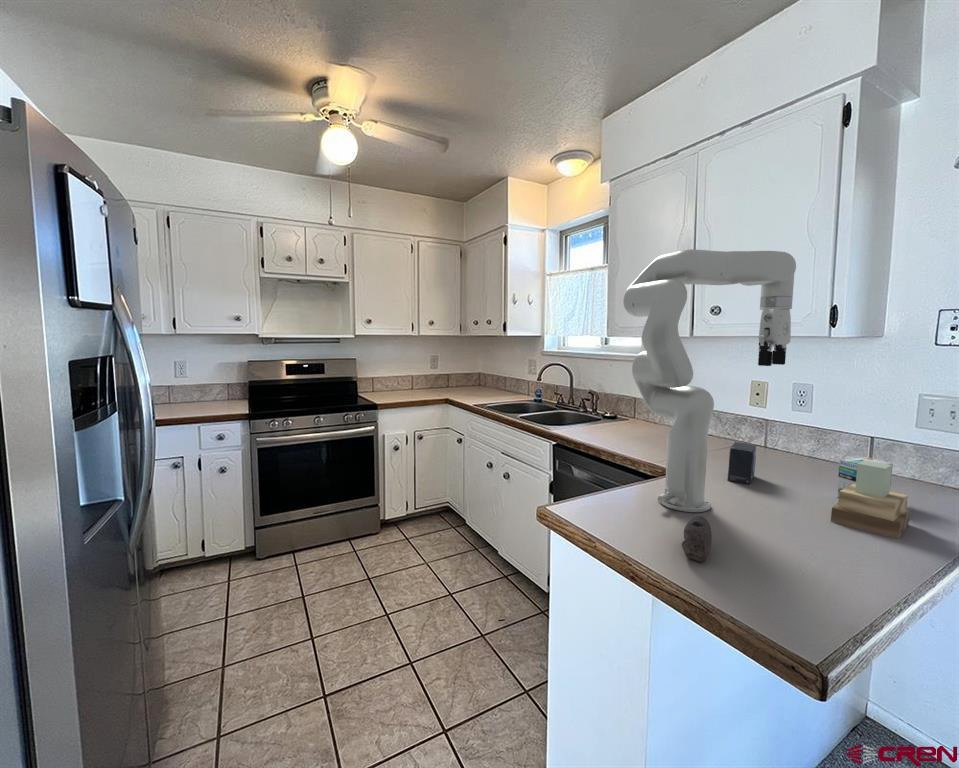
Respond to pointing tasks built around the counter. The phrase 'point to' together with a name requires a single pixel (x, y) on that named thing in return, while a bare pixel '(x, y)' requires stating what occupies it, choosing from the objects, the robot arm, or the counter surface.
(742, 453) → the small box
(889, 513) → the oak slab
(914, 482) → the counter surface
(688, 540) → the perforated stone tool
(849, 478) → the light bulb box
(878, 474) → the sage block
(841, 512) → the walnut slab
